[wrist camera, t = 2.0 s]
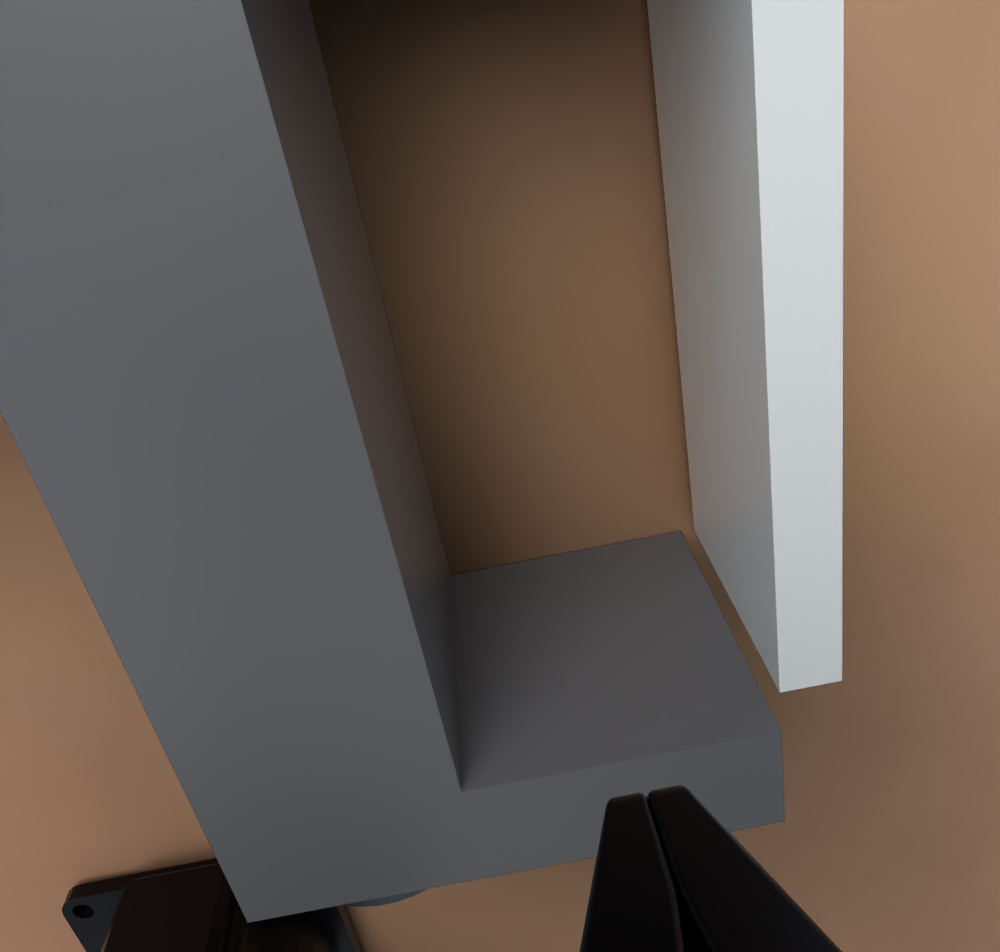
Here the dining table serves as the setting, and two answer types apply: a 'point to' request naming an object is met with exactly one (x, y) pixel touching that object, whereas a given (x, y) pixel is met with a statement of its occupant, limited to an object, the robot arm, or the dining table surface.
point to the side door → (760, 306)
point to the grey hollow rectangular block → (309, 491)
